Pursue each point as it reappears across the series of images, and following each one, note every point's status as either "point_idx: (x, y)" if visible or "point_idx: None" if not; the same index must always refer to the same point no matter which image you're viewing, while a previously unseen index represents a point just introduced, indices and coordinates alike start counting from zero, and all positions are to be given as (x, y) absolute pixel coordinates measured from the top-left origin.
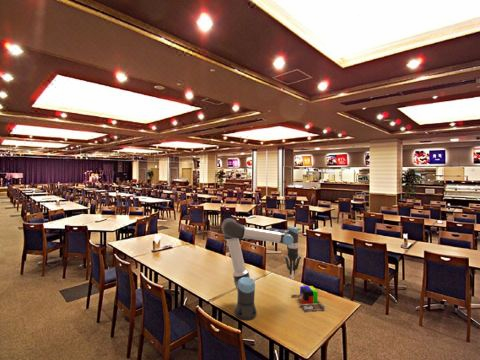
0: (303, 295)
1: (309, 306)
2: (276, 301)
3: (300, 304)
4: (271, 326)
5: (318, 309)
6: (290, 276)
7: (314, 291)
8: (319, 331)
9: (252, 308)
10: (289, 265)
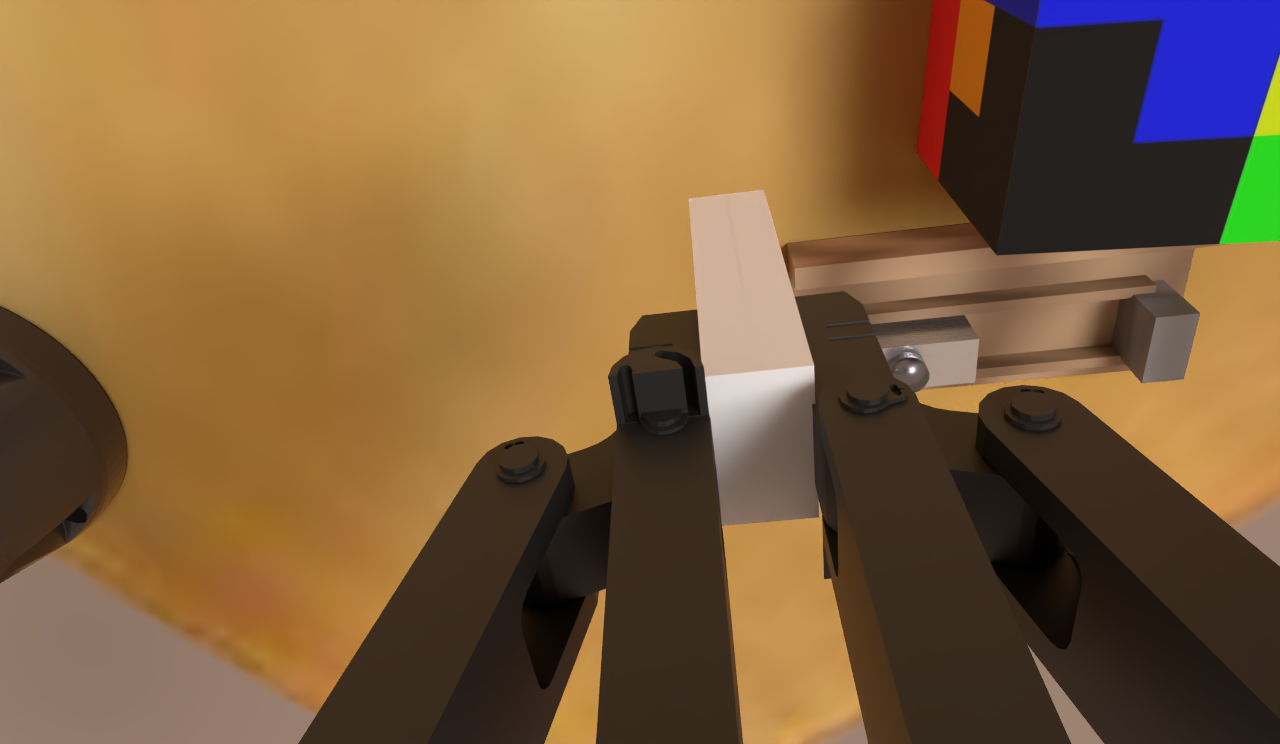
0: (971, 138)
1: (927, 365)
2: (409, 7)
3: (811, 270)
4: (335, 613)
5: (1051, 370)
6: (691, 229)
7: (1258, 228)
8: (816, 678)
9: (10, 574)
10: (610, 572)
